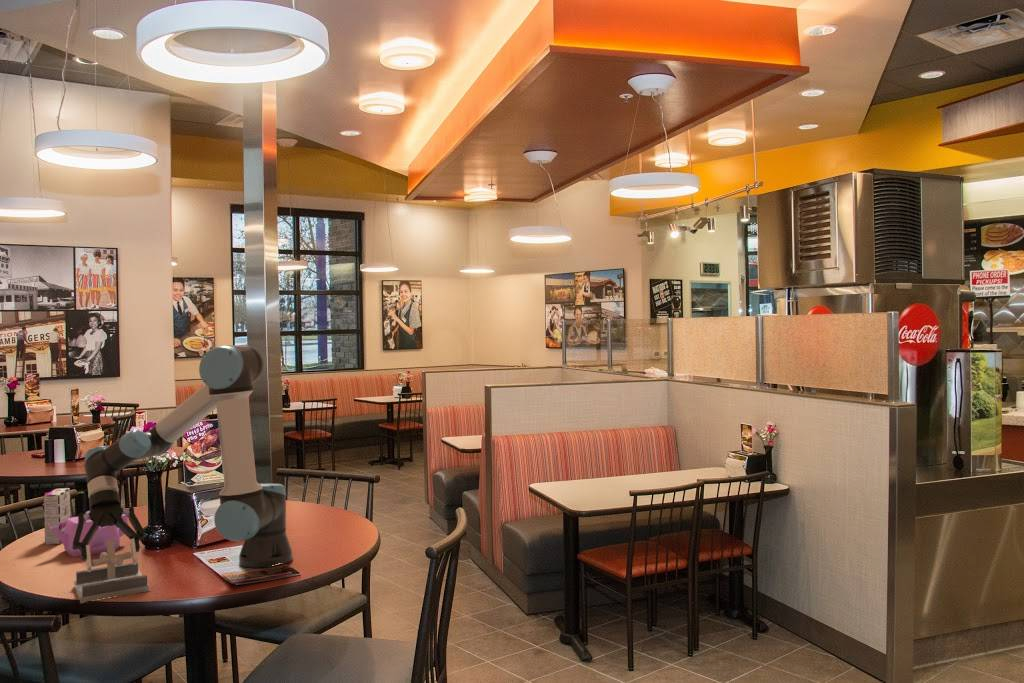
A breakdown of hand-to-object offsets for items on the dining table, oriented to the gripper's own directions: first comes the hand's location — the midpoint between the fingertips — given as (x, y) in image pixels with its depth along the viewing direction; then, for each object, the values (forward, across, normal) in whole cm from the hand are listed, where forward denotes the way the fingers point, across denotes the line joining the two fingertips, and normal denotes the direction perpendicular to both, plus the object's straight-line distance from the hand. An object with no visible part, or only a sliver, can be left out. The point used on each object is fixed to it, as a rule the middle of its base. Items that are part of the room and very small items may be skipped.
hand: (112, 565), depth 203 cm
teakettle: (-29, 0, -40) cm, 49 cm away
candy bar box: (-44, +8, -54) cm, 70 cm away
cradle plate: (+3, 0, -7) cm, 8 cm away
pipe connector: (+1, 0, -5) cm, 5 cm away
